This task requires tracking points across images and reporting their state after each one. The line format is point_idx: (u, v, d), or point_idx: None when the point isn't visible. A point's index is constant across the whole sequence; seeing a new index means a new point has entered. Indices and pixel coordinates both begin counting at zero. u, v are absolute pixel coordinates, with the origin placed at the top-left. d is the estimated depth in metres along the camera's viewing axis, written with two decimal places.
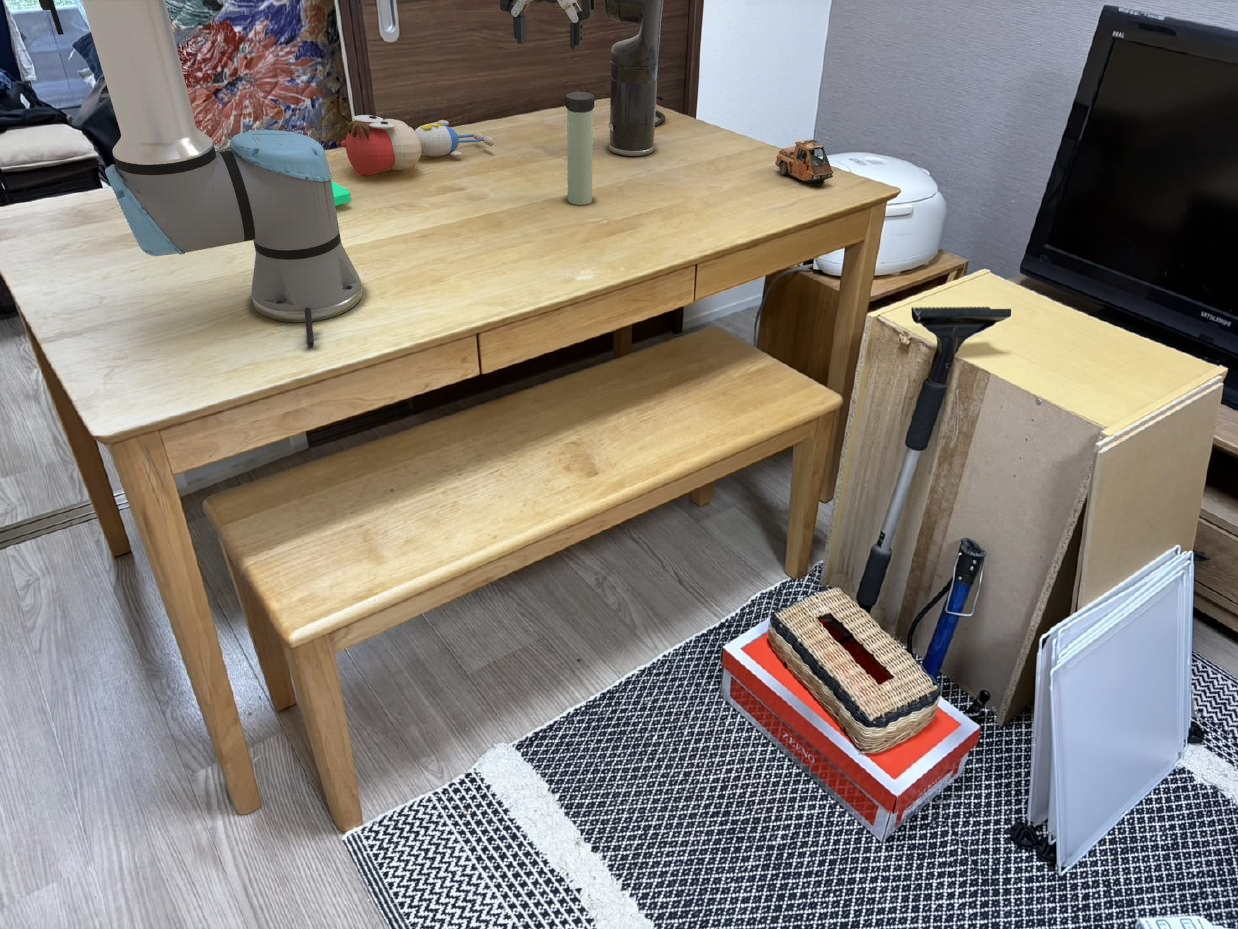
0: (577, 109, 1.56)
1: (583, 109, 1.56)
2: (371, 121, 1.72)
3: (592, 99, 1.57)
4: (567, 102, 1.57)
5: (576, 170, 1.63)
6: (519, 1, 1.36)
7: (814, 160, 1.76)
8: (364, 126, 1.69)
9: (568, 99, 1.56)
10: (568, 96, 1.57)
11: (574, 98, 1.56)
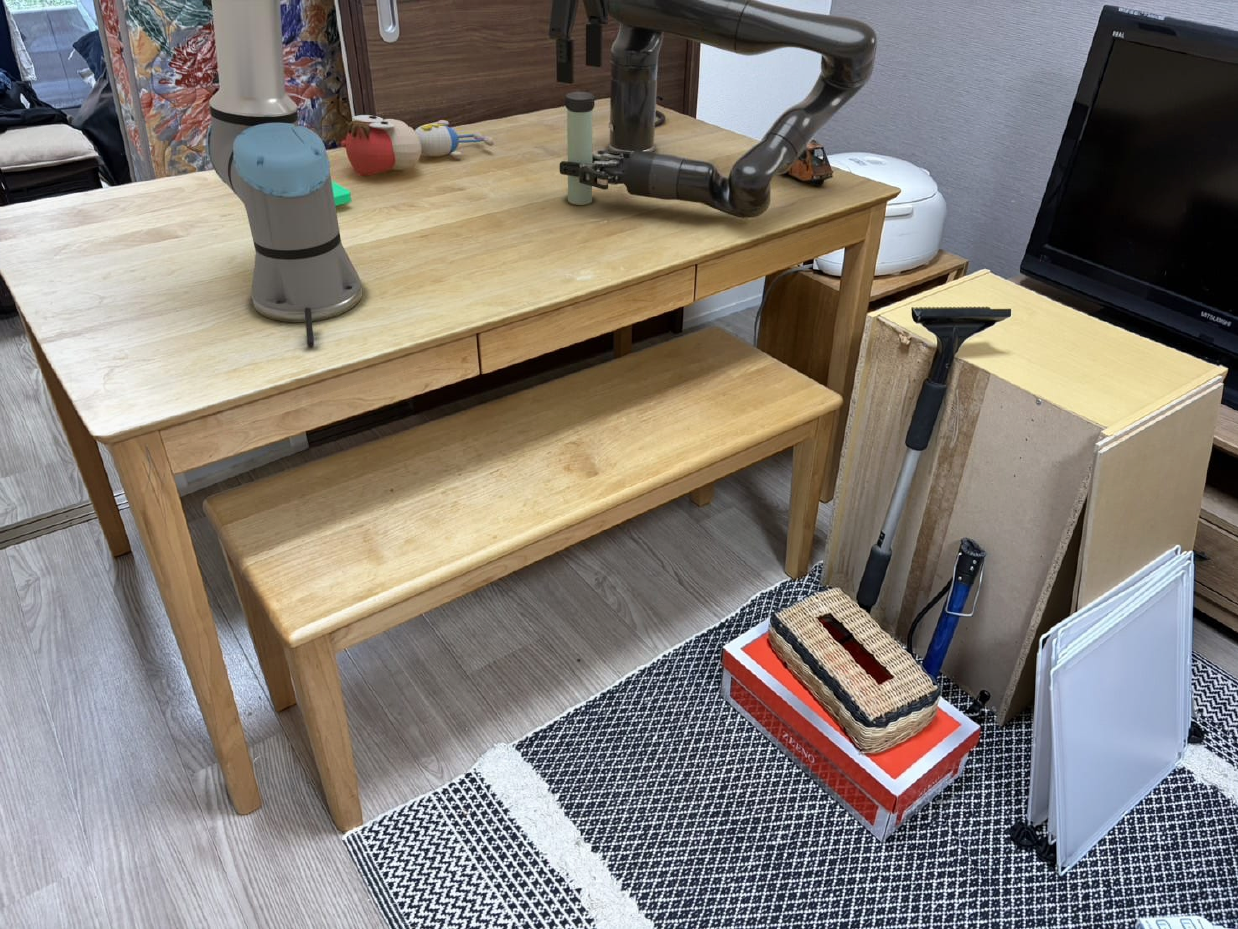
0: (577, 109, 1.56)
1: (583, 109, 1.56)
2: (371, 121, 1.72)
3: (592, 99, 1.57)
4: (567, 102, 1.57)
5: None
6: (603, 154, 1.65)
7: (814, 160, 1.76)
8: (364, 126, 1.69)
9: (568, 99, 1.56)
10: (568, 96, 1.57)
11: (574, 98, 1.56)
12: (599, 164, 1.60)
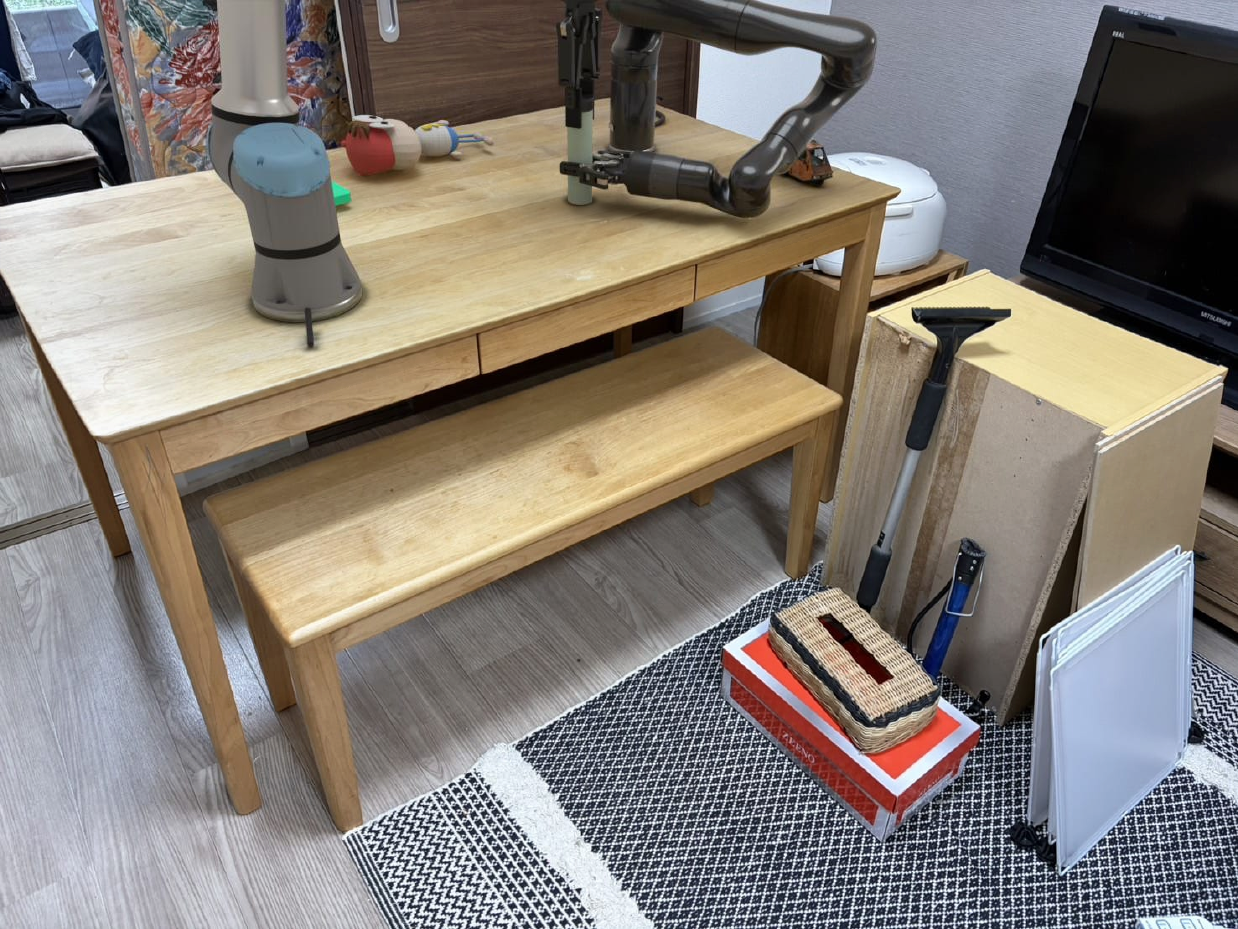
0: None
1: (583, 109, 1.56)
2: (371, 121, 1.72)
3: (592, 99, 1.57)
4: None
5: None
6: (603, 154, 1.65)
7: (814, 160, 1.76)
8: (364, 126, 1.69)
9: None
10: None
11: None
12: (599, 164, 1.60)
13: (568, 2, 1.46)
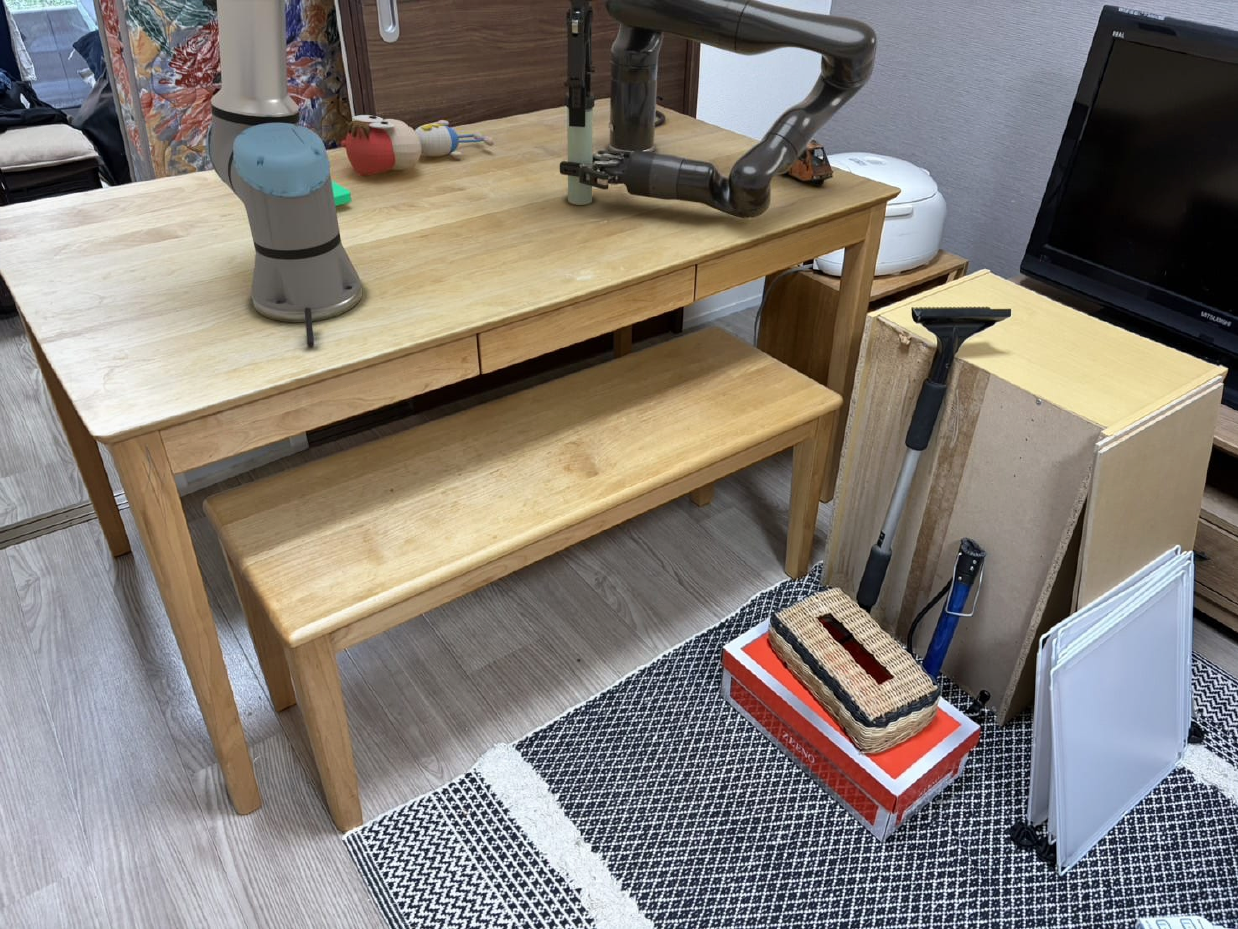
0: None
1: None
2: (371, 121, 1.72)
3: None
4: (590, 102, 1.56)
5: None
6: (603, 154, 1.65)
7: (814, 160, 1.76)
8: (364, 126, 1.69)
9: (590, 98, 1.56)
10: (586, 97, 1.56)
11: (590, 95, 1.57)
12: (599, 164, 1.60)
13: (575, 1, 1.45)
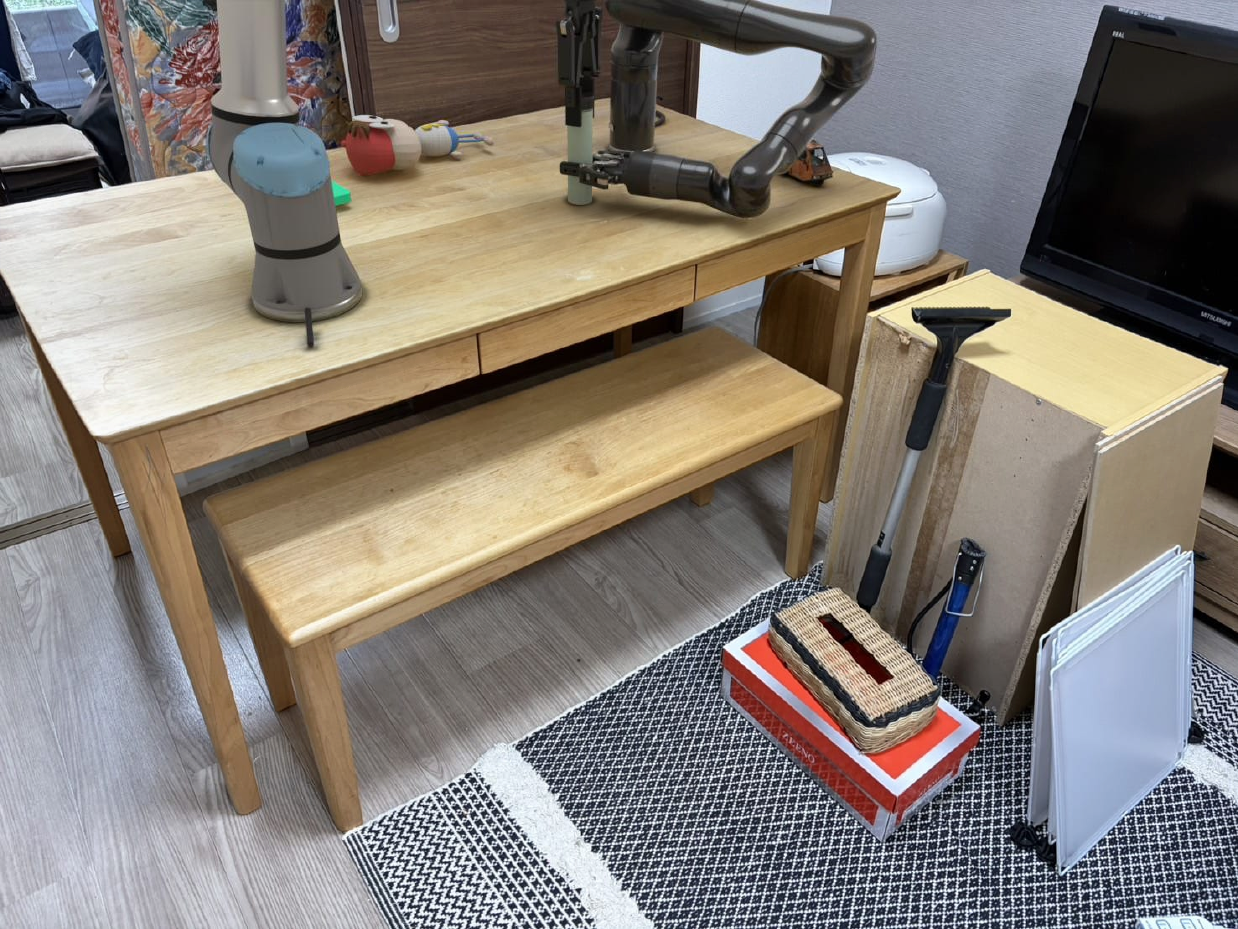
0: None
1: None
2: (371, 121, 1.72)
3: None
4: (590, 102, 1.56)
5: None
6: (603, 154, 1.65)
7: (814, 160, 1.76)
8: (364, 126, 1.69)
9: (590, 98, 1.56)
10: (586, 97, 1.56)
11: (590, 95, 1.57)
12: (599, 164, 1.60)
13: (568, 1, 1.45)
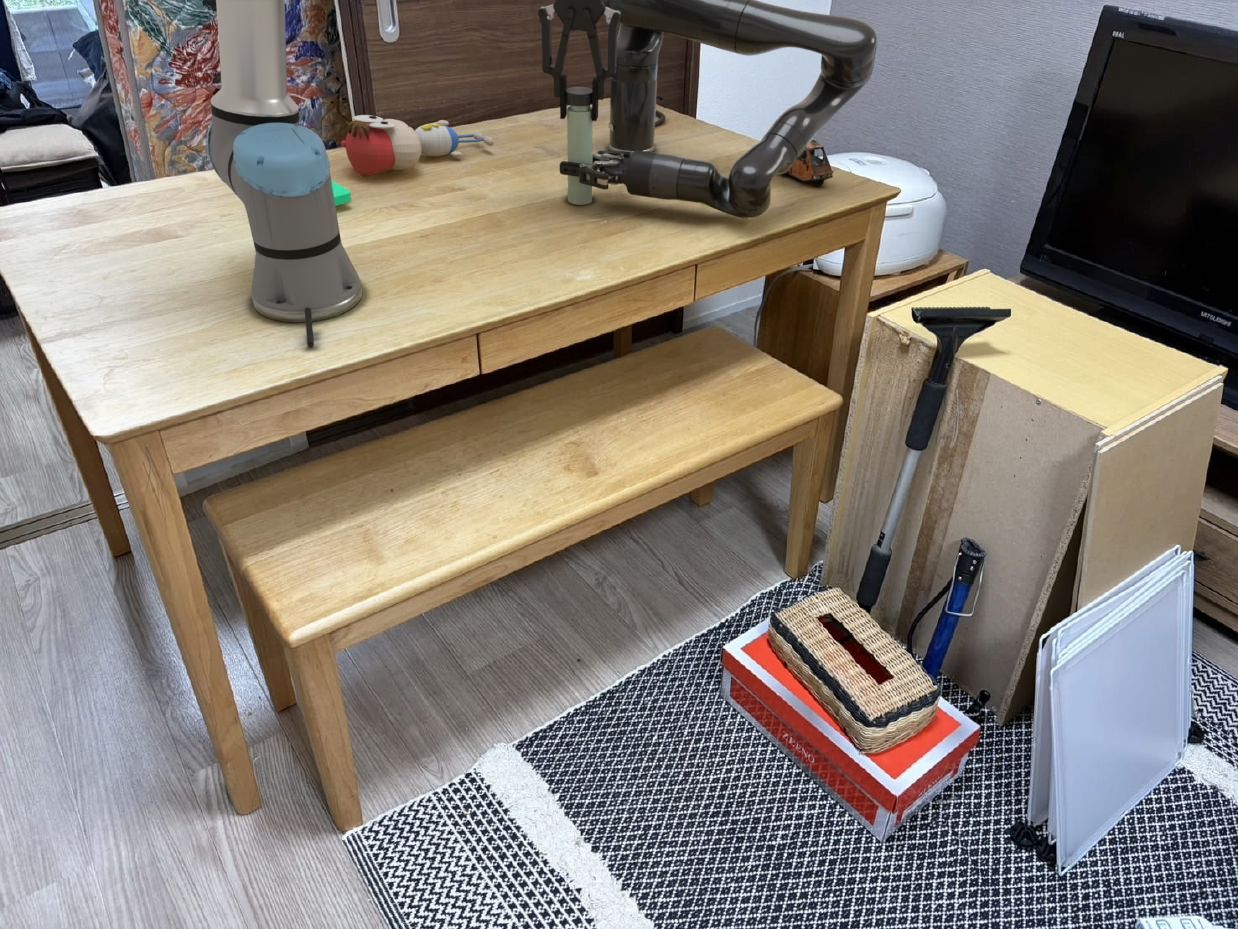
0: None
1: None
2: (371, 121, 1.72)
3: (565, 92, 1.56)
4: None
5: None
6: (603, 154, 1.65)
7: (814, 160, 1.76)
8: (364, 126, 1.69)
9: None
10: (587, 88, 1.58)
11: (579, 87, 1.58)
12: (599, 164, 1.60)
13: None
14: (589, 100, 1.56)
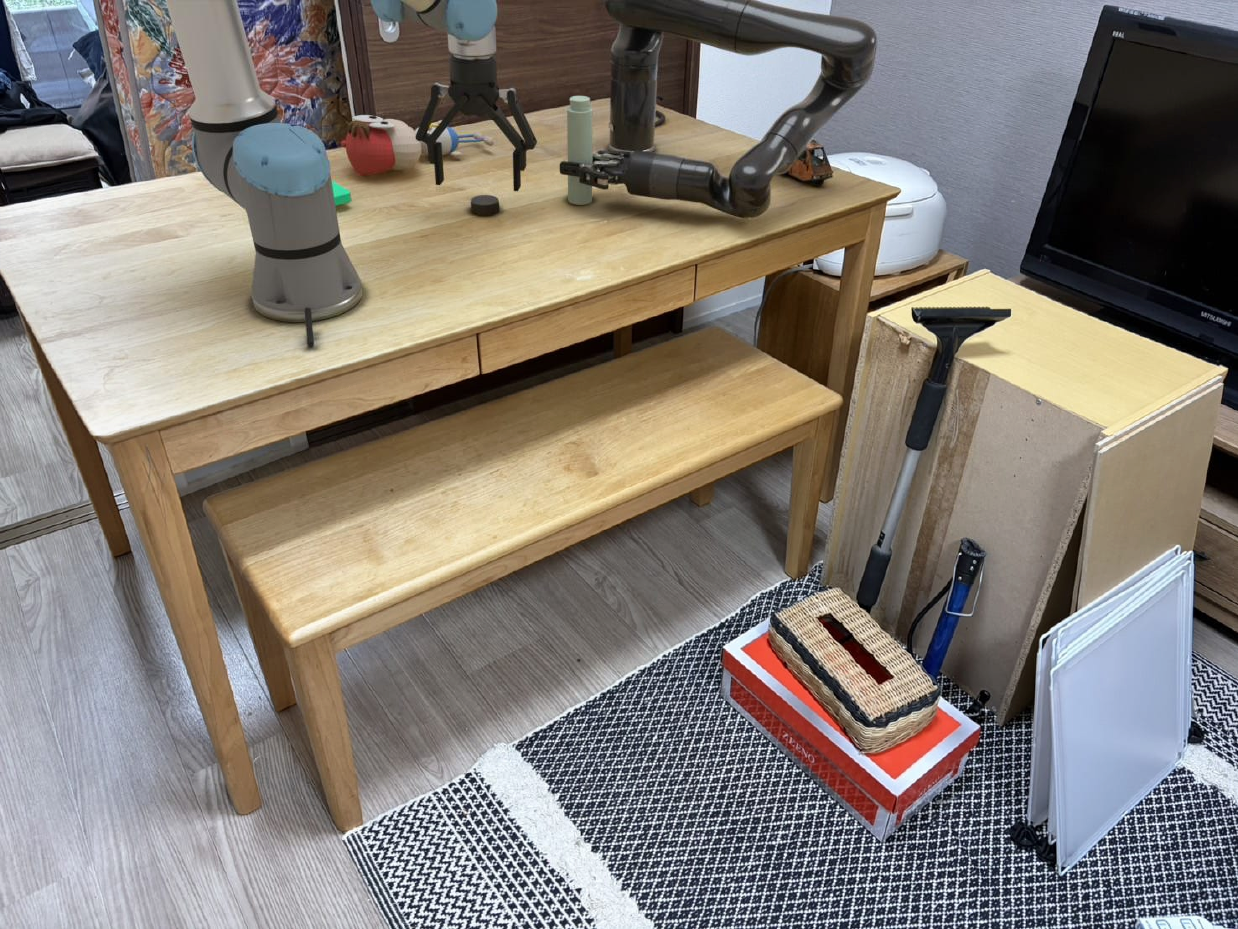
0: None
1: None
2: (371, 121, 1.72)
3: (471, 201, 1.62)
4: None
5: None
6: (603, 154, 1.65)
7: (814, 160, 1.76)
8: (364, 126, 1.69)
9: None
10: (493, 196, 1.63)
11: (485, 195, 1.64)
12: (599, 164, 1.60)
13: (496, 81, 1.49)
14: (494, 209, 1.61)
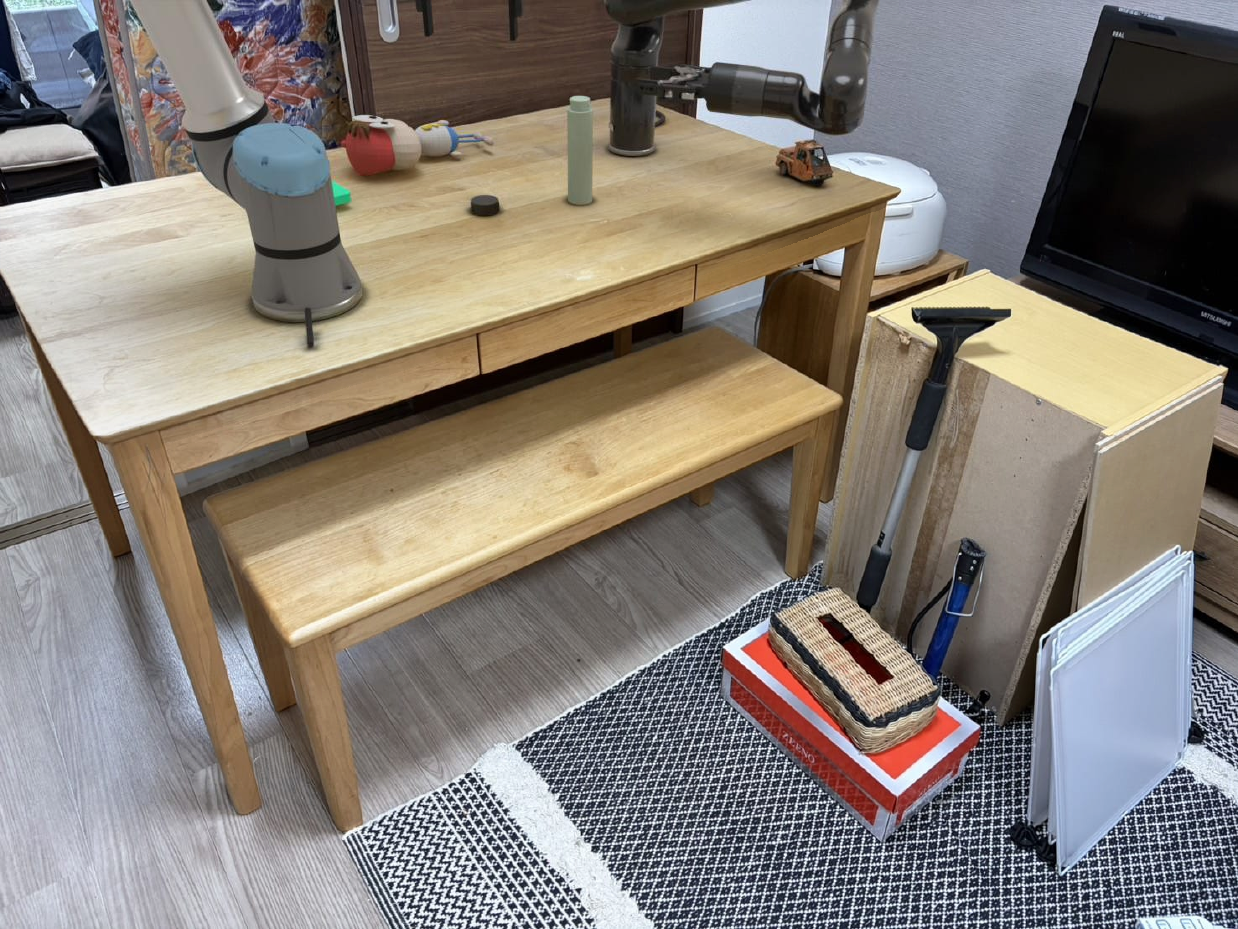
0: None
1: None
2: (371, 121, 1.72)
3: (471, 201, 1.62)
4: None
5: (577, 171, 1.63)
6: None
7: (814, 160, 1.76)
8: (364, 126, 1.69)
9: None
10: (493, 196, 1.63)
11: (485, 195, 1.64)
12: (679, 79, 1.47)
13: None
14: (494, 209, 1.61)
